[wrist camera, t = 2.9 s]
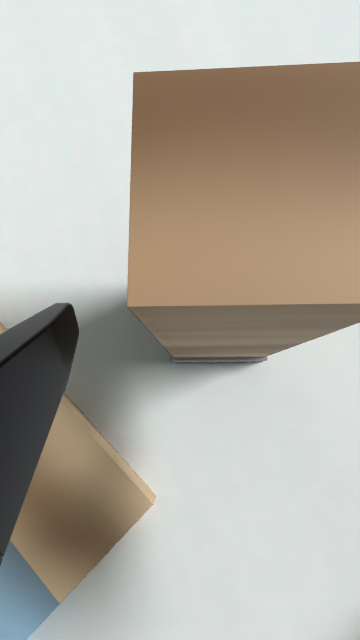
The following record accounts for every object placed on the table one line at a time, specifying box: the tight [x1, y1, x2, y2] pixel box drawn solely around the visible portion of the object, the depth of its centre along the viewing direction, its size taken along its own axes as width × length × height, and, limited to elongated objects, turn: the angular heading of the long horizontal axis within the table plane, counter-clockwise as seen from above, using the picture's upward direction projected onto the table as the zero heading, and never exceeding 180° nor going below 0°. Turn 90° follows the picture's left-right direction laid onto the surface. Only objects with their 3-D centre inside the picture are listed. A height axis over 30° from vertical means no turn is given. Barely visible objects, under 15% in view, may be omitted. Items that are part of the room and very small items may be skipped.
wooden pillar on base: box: [127, 62, 360, 362], centre depth 12 cm, size 5×5×13 cm
